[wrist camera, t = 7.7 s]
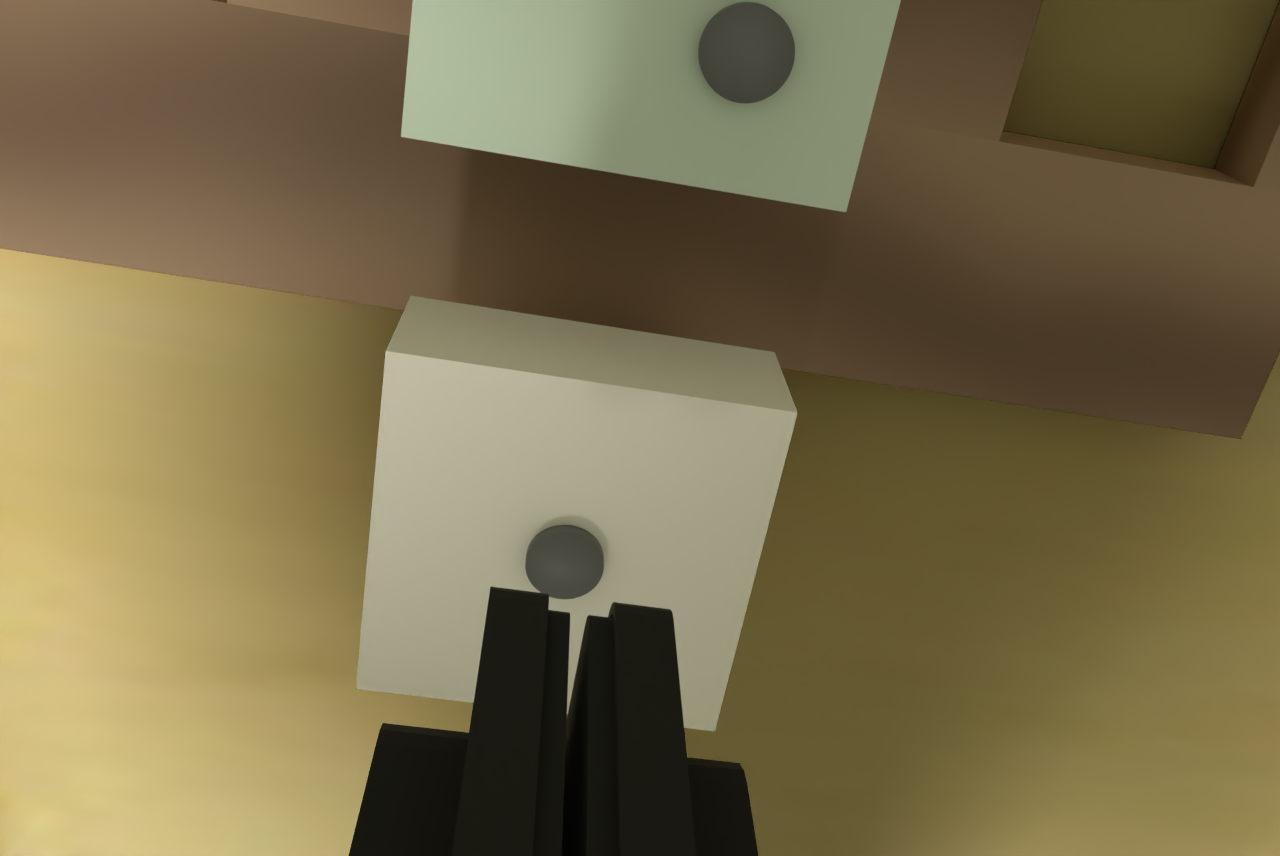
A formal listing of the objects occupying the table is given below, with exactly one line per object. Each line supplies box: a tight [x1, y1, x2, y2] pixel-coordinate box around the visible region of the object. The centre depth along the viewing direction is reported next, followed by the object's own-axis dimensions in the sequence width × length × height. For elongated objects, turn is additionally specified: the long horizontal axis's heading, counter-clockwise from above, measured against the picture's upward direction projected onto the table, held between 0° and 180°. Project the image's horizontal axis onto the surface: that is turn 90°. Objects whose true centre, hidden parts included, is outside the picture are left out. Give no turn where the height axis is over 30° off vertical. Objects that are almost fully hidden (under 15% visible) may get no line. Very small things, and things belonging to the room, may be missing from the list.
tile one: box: [356, 296, 798, 731], centre depth 16 cm, size 5×5×4 cm
